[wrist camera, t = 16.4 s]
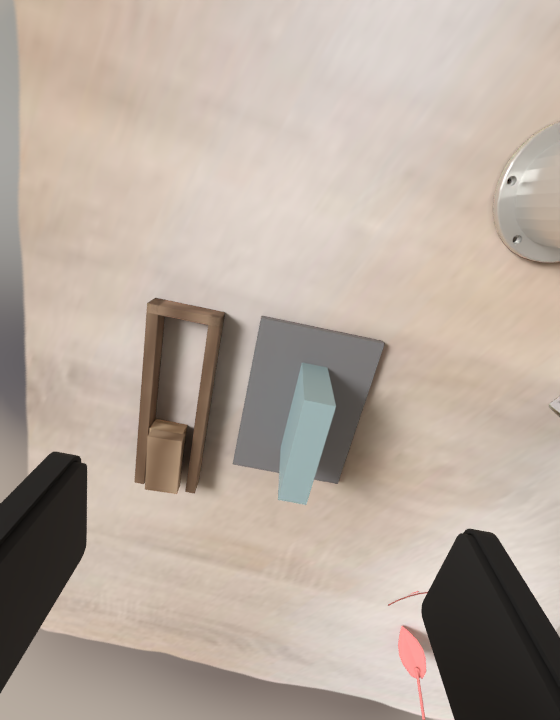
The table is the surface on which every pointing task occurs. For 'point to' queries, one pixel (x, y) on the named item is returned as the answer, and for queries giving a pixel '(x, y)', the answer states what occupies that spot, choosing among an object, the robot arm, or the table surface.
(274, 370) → the mat
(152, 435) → the offcut top
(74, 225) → the table surface
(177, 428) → the block
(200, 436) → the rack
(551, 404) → the coffee box
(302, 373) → the teal rectangular block
